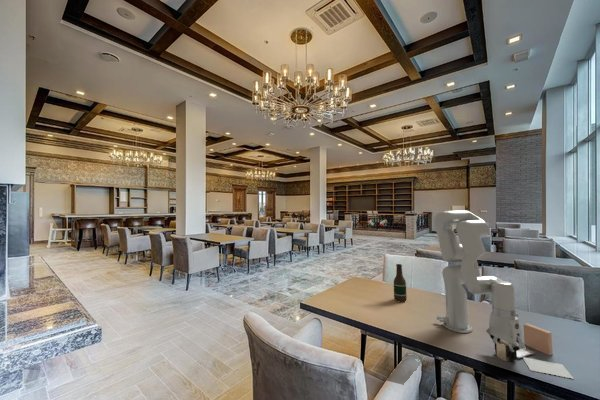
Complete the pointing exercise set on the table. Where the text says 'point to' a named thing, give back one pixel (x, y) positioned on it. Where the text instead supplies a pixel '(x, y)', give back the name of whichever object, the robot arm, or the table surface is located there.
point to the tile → (538, 339)
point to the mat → (547, 367)
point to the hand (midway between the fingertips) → (505, 356)
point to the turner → (504, 351)
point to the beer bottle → (399, 285)
